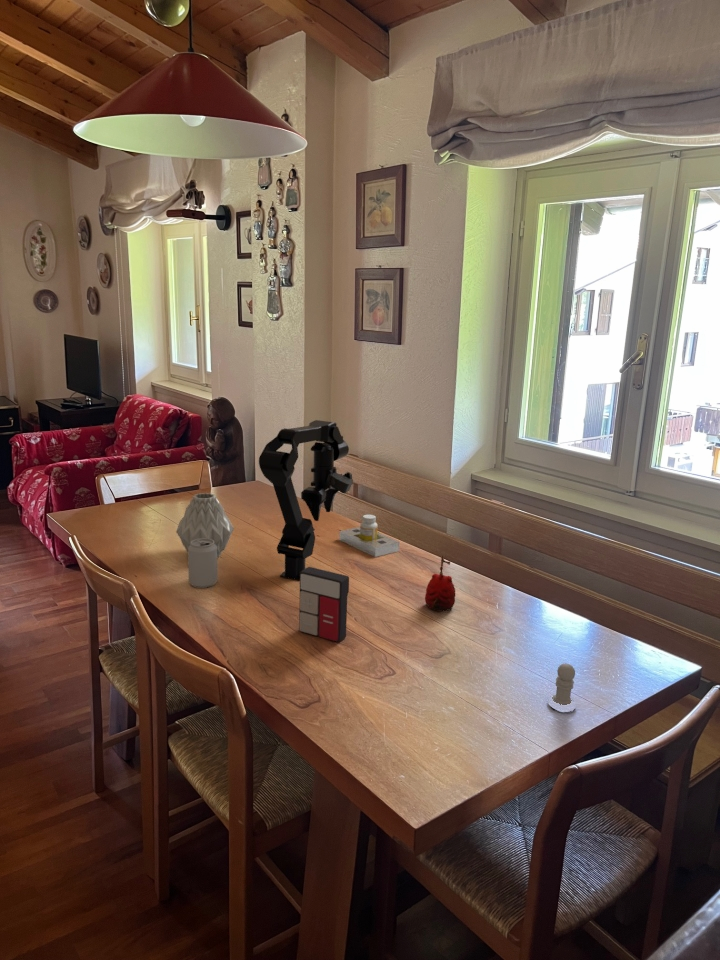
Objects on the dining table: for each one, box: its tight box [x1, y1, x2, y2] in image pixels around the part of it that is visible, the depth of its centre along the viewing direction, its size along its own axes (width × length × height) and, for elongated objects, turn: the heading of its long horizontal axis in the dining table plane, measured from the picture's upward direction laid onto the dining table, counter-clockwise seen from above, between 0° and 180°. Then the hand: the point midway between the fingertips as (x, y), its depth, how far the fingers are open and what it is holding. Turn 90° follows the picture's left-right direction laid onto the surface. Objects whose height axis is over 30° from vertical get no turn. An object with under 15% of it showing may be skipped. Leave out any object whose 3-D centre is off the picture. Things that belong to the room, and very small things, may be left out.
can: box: [187, 538, 218, 589], centre depth 188 cm, size 8×8×12 cm
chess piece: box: [552, 662, 576, 705], centre depth 137 cm, size 5×5×9 cm
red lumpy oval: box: [424, 555, 456, 612], centre depth 178 cm, size 8×7×15 cm
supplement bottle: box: [359, 514, 379, 542], centre depth 221 cm, size 5×5×10 cm
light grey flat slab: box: [338, 526, 400, 558], centre depth 222 cm, size 18×10×3 cm, turn 38°
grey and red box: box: [298, 566, 350, 643], centre depth 162 cm, size 11×4×15 cm, turn 62°
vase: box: [175, 492, 235, 559], centre depth 207 cm, size 16×16×18 cm
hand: (322, 516), depth 207 cm, fingers open, 9 cm apart
